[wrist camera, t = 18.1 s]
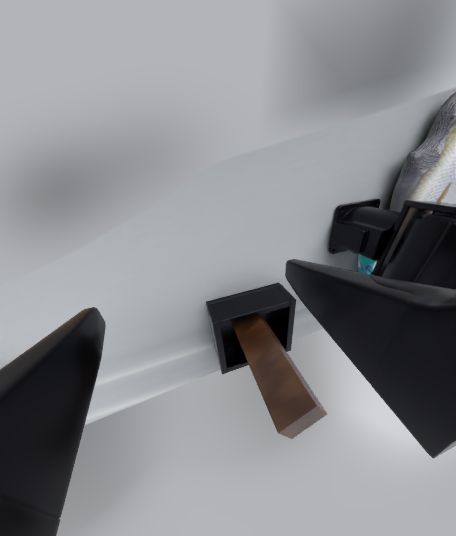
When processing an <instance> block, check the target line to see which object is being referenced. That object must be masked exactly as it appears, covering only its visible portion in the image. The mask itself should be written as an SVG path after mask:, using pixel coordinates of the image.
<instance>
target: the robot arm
mask: <svg viewBox="0 0 456 536" xmlns="http://www.w3.org/2000/svg"><path fill="white" fill-rule="evenodd" d="M379 205H380V199H371V200H366V201H360V202H355V203H350V204H344V205H339V206H338V207H337V209H336V213H335V218H334V224H333V229H332V235H331V240H330V246H329V252H330V253H332V254H334V253H338V252H342V251H347V250H349V251H352V252H354V253H357V254H360V255H362V256H364V257H366V258H369V259H371V260H373V261H377V263H376V265H375V267H374V269H373V271H372V272H371V273H370V275H369V274H365V273H360V272H355V271H350V270H345V269H341V268H336V267H331V266H326V265H321V264H316V263H311V262H307V261H302V260H297V259H292V260H288V261H287V262H286V273H285V275H286V279H287V280H288V282H289V283H290V285H291V286H292V288H293V289H294V291H295V292H296V294H297V295H298V297H299V298H300V300H301V301H302V302H303V304H304V305H305V306H306V307H307V309H308V310H309V311H310V312H311V313H312V315H313V316H314V317H315V318H316V319H317V321H318V322H319V323H320V324H321V325H322V327H323V328H324V329H325V330H326V331H327V333H328V334H329V335H330V336H331V337H332V339H333V340H334V341H335V342H336V343H337V345H338V346H339V347H340V348H341V349H342V351H343V352H344V353H345V354H346V355H347V357H348V358H349V359H350V360H351V361H352V362H353V364H354V365H355V366H356V367H357V369H358V370H359V371H360V372H361V373H362V375H363V376H364V377H365V378H366V380H367V381H368V382H369V383H370V384H371V385H372V387H373V388H374V389H375V391H376V392H377V393H378V394H379V395H380V397H381V398H382V399H383V400H384V401H385V403H386V404H387V405H388V406H389V407H390V409H391V410H392V411H393V412H394V413H395V414H396V416H397V417H398V418H399V419H400V421H401V422H402V423H403V424H404V425H405V427H406V428H407V429H408V430H409V431H410V432H411V434H412V435H413V436H414V437H415V439H416V440H417V441H418V442H419V443H420V445H421V446H422V447H423V448H424V449H425V451H426V452H427V453H428V454H429V455H430V456H431V457H432V458H435V457H437V456H439V455H440V454H442V453H444V452H446V451H447V450H449V449H451V448H452V447H454V446H456V204H451V203H441V202H430V201H414V200H405V201H404V203H403V205H402V206H403V208H402V210H401V212H398V211H392V210H387V209H381V208H379ZM340 209H341V210H340ZM104 334H105V321H104V319H103V317H102V316H101V314H100V312H99V311H98V309H97V308H95V307H92V308H88V309H84V310H83V311H81V312H80V313H78V314H77V315H76V316H74V317H73V318H71V319H70V320H69V321H67V322H66V323H65V324H63V325H62V326H60V327H59V328H58V329H56V330H55V331H53V332H52V333H51V334H49V335H48V336H47V337H45V338H44V339H42V340H41V341H40V342H38V343H37V344H35V345H34V346H33V347H31V348H30V349H28V350H27V351H26V352H24V353H23V354H22V355H20V356H19V357H17V358H16V359H15V360H13V361H12V362H10V363H9V364H8V365H6V366H5V367H4V368H2V369H1V370H0V536H56V534H57V530H58V526H59V522H60V519H59V518H60V517H61V514H62V509H63V506H64V502H65V498H66V494H67V490H68V487H69V482H70V479H71V474H72V471H73V467H74V463H75V459H76V455H77V452H78V448H79V443H80V440H81V436H82V432H83V428H84V424H85V420H86V416H87V413H88V409H89V405H90V401H91V397H92V393H93V389H94V385H95V381H96V378H97V374H98V370H99V366H100V362H101V357H102V350H103V342H104Z"/></svg>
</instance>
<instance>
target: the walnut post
mask: <svg viewBox="0 0 456 536" xmlns="http://www.w3.org/2000/svg"><path fill="white" fill-rule="evenodd" d="M232 326H233V328H234V330H235V333H236V335H237V338H238V340H239V342H240V345H241V347H242V349H243V352H244V354H245V356H246V359H247V361H248V363H249V366H250V368H251V370H252V373H253V375H254V378H255V380H256V382H257V385H258V387H259V389H260V391H261V394H262V396H263V399H264V401H265V404H266V406H267V408H268V411H269V413H270V415H271V418H272V420H273V422H274V425H275V427H276V429H277V432H278V433H279V434H281V435H284V436H286V437H289V438H291V439H293V438H294V437H295V436H297V435H298V434H300V433H301V432H302V431H304V430H305V429H307V428H308V427H310V426H311V425H313V424H314V423H315V422H317V421H318V420H320V419H321V418H323V417H324V416H325V415H327V413H326V411H325V410H324V408H323V407H322V405H321V404H320V402H319V401H318V399H317V398H316V396H315V395H314V393H313V392H312V390H311V388H310V387H309V385H308V384H307V382H306V381H305V380H304V378H303V376H302V375H301V373H300V372H299V370H298V369H297V367H296V366H295V364H294V363H293V361H292V360H291V358H290V357H289V355H288V354H287V352H286V351H285V349H284V348H283V346H282V345H281V343H280V342H279V340H278V338H277V337H276V335H275V334H274V332H273V331H272V329H271V328H270V326H269V325H268V323H267V322H266V320H265V319H264V317H263V316H262V315H258V316H254V317H251V318H248V319H244V320H241V321H237V322H234V323H232Z"/></svg>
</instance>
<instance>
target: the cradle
mask: <svg viewBox="0 0 456 536" xmlns="http://www.w3.org/2000/svg"><path fill="white" fill-rule="evenodd" d="M206 305H207V310H208V315H209V320H210V325H211V330H212V335H213V340H214V345H215V350H216V353H217V357H218V361H219V364H220V368H221V372H222V374H224V373H227V372H230V371H233V370H236V369H238V368H241V367H244V366H247V365H249V363H248V361H247V359H246V356H245V354H244V352H243V349H242V347H241V345H240V342H239V340H238V338H237V335H236V333H235V330H234V328H233V326H232V323H234V322H237V321H241V320H244V319H248V318H251V317H254V316H258V315H262V316H263V317H264V319H265V320H266V322H267V323H268V325H269V326H270V328H271V329H272V331H273V332H274V334H275V335H276V337H277V338H278V340H279V342H280V343H281V345H282V346H283V348H284V349H285V351H286V352H287V351H290V350H291V344H292V334H293V324H294V315H295V305H296V299H295V298H294V297H293V296H292V295H291V294H290V293H289V292H288V291H287V290H286V289H285V288H284V287H283V286H282V285H281V284H280V283H276V284H272V285H268V286H265V287H261V288H257V289H253V290H249V291H246V292H242V293H238V294H234V295H230V296H227V297H223V298H219V299H215V300H211V301H207V302H206Z"/></svg>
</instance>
